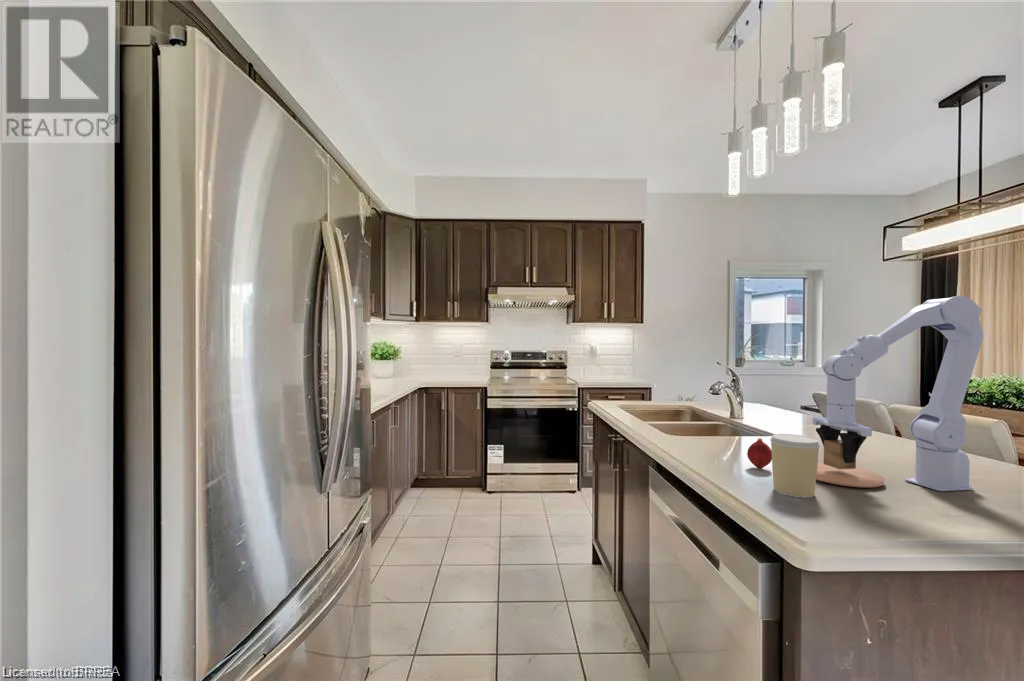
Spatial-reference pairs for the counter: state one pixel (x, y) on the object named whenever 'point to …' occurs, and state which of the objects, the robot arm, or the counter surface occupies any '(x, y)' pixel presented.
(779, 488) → the coffee cup
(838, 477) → the dish
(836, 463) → the block
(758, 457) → the onion
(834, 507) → the counter surface
